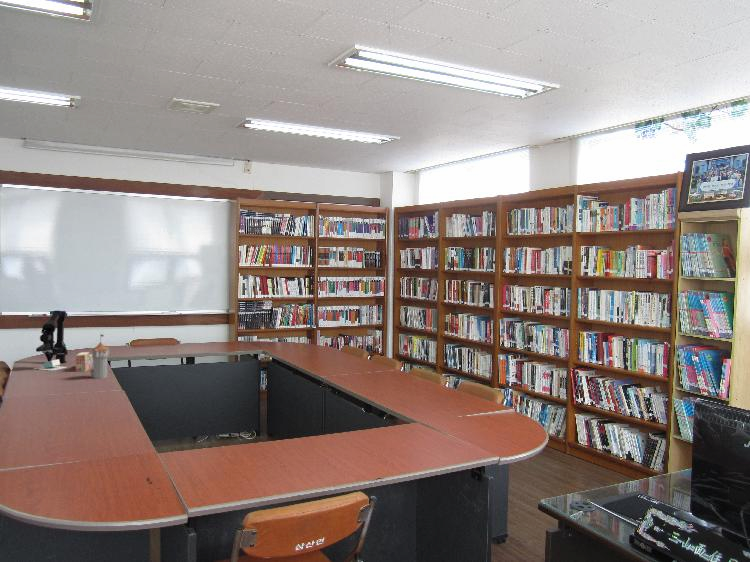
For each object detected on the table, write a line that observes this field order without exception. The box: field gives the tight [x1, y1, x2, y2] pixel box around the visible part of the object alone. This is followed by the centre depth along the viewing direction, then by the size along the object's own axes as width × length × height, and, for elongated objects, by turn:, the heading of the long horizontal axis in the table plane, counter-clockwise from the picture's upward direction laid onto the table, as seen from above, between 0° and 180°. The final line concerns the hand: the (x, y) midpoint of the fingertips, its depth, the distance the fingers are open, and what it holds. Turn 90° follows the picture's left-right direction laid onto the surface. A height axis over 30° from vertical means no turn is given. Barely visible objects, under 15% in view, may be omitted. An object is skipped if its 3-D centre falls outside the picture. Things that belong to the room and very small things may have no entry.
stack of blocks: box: [75, 351, 94, 373], centre depth 438 cm, size 21×6×12 cm, turn 12°
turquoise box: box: [42, 359, 61, 368], centre depth 436 cm, size 7×4×8 cm
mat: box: [34, 365, 67, 372], centre depth 437 cm, size 14×16×1 cm
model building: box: [89, 333, 110, 379], centre depth 409 cm, size 14×12×30 cm
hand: (49, 361), depth 437 cm, fingers closed
